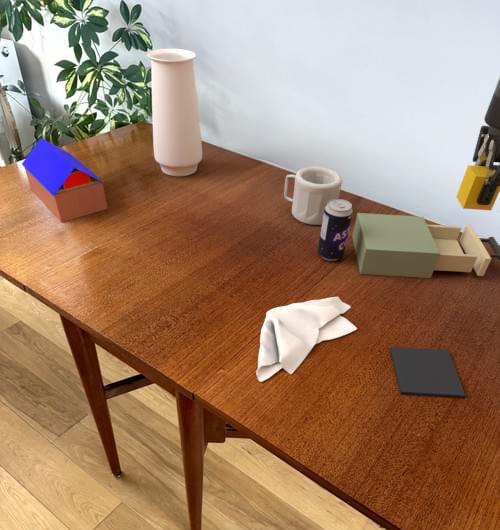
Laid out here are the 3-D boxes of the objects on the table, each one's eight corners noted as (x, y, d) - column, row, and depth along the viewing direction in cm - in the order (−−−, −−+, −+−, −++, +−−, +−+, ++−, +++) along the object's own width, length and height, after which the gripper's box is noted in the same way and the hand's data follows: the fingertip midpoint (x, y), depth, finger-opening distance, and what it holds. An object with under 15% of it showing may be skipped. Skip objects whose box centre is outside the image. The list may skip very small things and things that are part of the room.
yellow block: (483, 198, 85) (496, 166, 81) (491, 210, 82) (505, 178, 78) (456, 196, 85) (468, 165, 81) (462, 208, 82) (475, 176, 78)
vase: (206, 177, 126) (203, 60, 107) (157, 180, 123) (146, 61, 104) (198, 158, 135) (195, 47, 116) (153, 160, 132) (142, 47, 113)
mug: (341, 211, 115) (348, 172, 108) (326, 230, 108) (333, 190, 101) (291, 197, 119) (295, 159, 112) (273, 215, 112) (277, 175, 105)
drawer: (484, 242, 105) (491, 225, 102) (505, 277, 95) (514, 260, 92) (405, 237, 105) (410, 220, 102) (417, 272, 95) (424, 254, 92)
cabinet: (415, 240, 106) (423, 216, 102) (430, 278, 96) (440, 253, 91) (352, 236, 106) (357, 212, 102) (360, 274, 96) (366, 248, 91)
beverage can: (329, 265, 97) (339, 214, 89) (311, 253, 101) (319, 202, 92) (348, 257, 100) (360, 206, 92) (330, 245, 103) (340, 195, 95)
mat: (447, 352, 80) (448, 350, 79) (464, 398, 72) (465, 395, 72) (389, 349, 80) (390, 346, 79) (400, 394, 72) (401, 391, 72)
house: (60, 223, 105) (47, 173, 97) (29, 189, 116) (15, 143, 109) (109, 208, 111) (100, 161, 103) (75, 178, 122) (65, 133, 114)
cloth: (319, 285, 92) (320, 276, 91) (373, 322, 85) (376, 312, 83) (214, 341, 79) (214, 331, 78) (267, 390, 72) (268, 380, 70)
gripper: (565, 110, 66) (513, 218, 77) (527, 82, 76) (486, 181, 88) (512, 107, 66) (468, 215, 77) (482, 79, 76) (447, 178, 88)
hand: (478, 196), depth 83 cm, fingers closed on yellow block, 4 cm apart
